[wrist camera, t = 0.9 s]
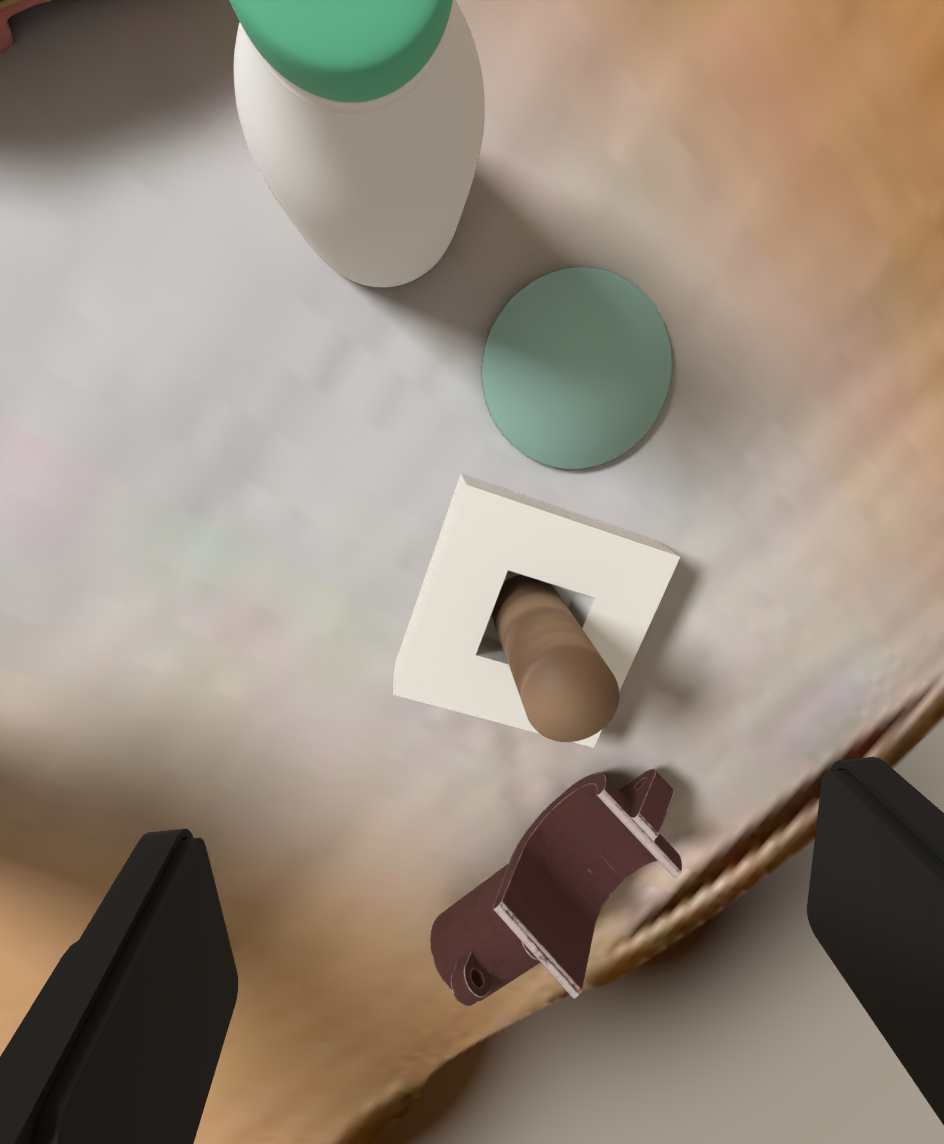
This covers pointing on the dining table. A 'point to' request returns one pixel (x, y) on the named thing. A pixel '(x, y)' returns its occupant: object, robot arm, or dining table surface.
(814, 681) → the dining table surface
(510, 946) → the bracket
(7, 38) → the oxford shoe
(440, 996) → the dining table surface
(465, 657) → the pocket block
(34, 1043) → the robot arm
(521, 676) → the walnut dowel
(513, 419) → the felt pad
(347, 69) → the milk bottle
